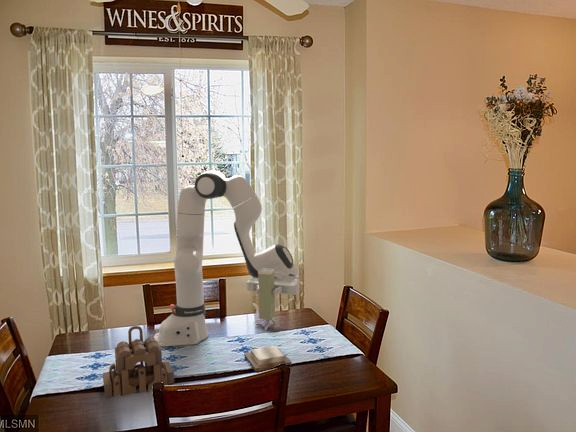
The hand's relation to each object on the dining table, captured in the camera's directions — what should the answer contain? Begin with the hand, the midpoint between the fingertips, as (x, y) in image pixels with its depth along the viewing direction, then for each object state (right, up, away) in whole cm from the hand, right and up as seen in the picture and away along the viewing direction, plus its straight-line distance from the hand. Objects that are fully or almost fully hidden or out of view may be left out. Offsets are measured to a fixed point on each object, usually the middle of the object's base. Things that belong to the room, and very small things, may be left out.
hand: (265, 291), depth 180 cm
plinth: (0, -26, +4) cm, 27 cm away
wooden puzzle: (-43, -29, -13) cm, 53 cm away
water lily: (-3, -22, +42) cm, 47 cm away
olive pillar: (0, -10, +2) cm, 10 cm away
